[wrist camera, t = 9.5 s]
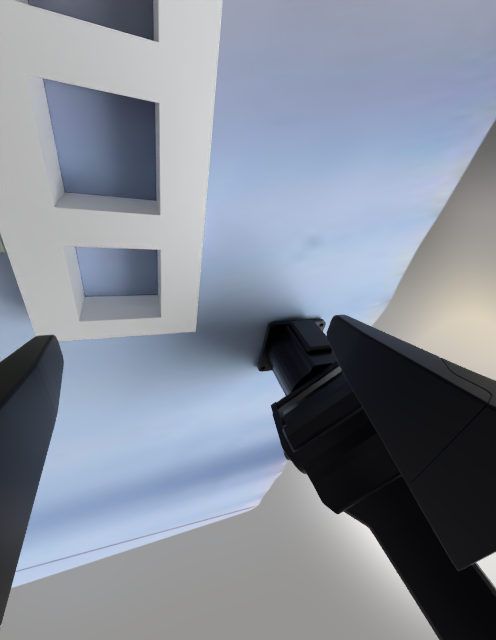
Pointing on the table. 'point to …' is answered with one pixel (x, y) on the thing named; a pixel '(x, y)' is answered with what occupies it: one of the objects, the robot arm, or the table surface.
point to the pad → (2, 245)
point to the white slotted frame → (94, 210)
